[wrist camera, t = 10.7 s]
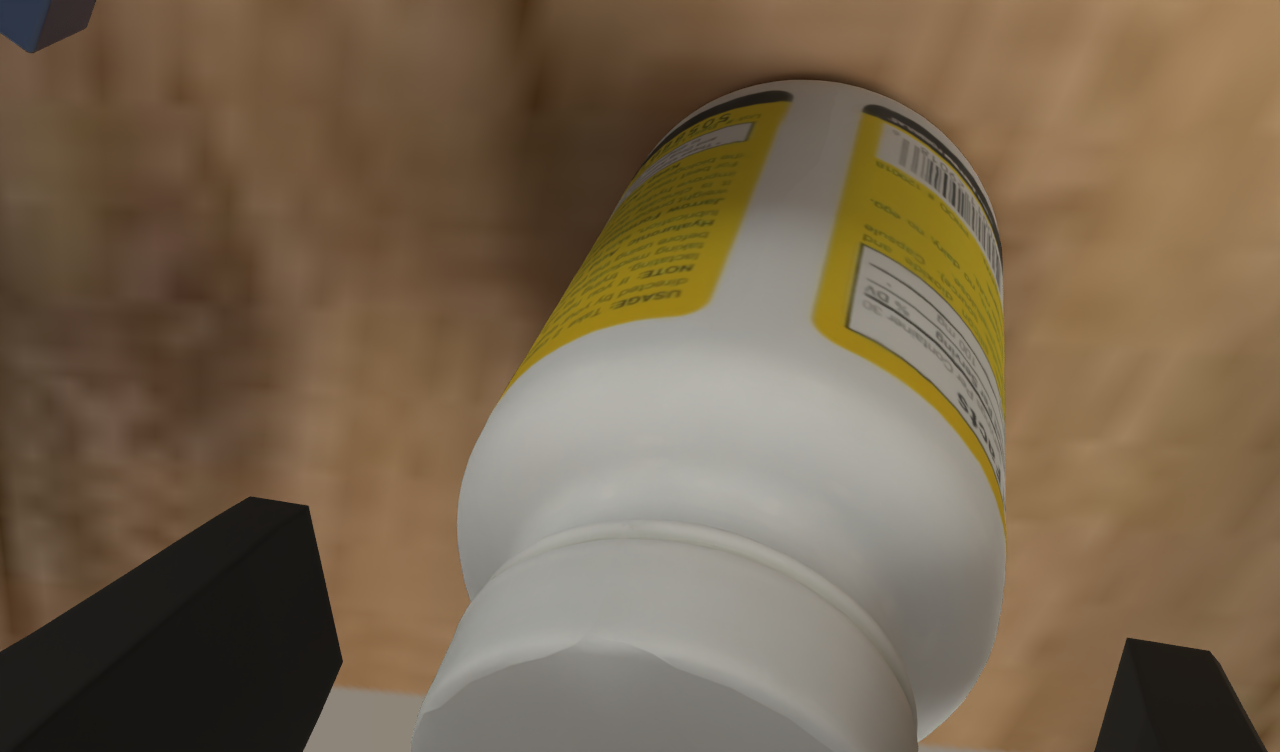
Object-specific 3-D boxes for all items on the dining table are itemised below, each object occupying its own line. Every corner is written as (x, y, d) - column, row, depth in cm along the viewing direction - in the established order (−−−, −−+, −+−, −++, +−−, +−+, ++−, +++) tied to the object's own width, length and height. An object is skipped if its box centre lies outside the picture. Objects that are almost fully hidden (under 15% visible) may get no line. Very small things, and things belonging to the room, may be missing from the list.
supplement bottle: (610, 365, 19) (329, 915, 11) (649, 34, 16) (299, 468, 8) (948, 446, 18) (905, 1099, 10) (1058, 114, 15) (1118, 685, 7)
